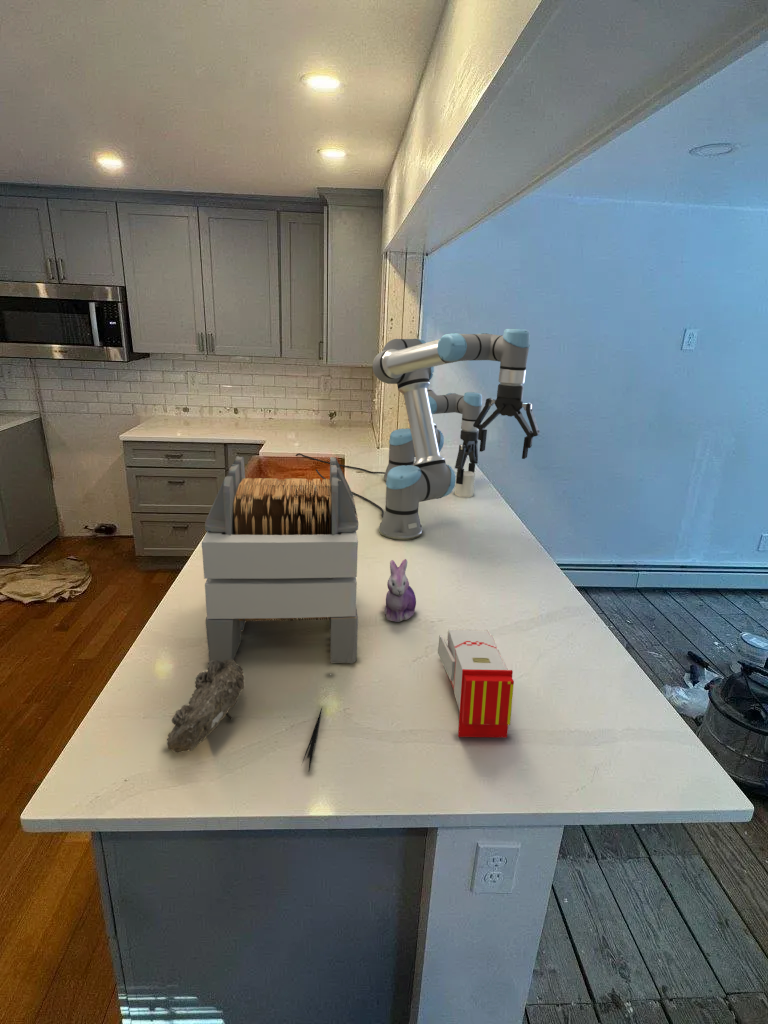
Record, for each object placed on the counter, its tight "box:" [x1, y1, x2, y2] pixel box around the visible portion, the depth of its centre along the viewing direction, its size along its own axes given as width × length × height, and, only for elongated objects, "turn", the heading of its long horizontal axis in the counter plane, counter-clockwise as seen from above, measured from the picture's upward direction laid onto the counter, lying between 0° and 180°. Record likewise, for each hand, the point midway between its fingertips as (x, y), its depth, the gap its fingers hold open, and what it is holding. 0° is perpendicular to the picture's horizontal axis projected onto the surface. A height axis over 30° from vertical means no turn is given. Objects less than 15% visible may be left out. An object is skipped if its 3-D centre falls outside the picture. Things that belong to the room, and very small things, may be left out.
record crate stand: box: [201, 455, 359, 666], centre depth 133 cm, size 34×33×41 cm
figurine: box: [384, 558, 417, 623], centre depth 145 cm, size 9×10×15 cm
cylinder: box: [454, 470, 476, 498], centre depth 245 cm, size 8×8×10 cm
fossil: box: [166, 659, 245, 754], centre depth 106 cm, size 22×10×15 cm
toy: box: [437, 628, 515, 738], centre depth 117 cm, size 12×13×30 cm
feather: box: [301, 673, 332, 771], centre depth 108 cm, size 2×28×2 cm
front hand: (502, 454), depth 174 cm, fingers open, 13 cm apart
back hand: (465, 480), depth 244 cm, fingers open, 11 cm apart
